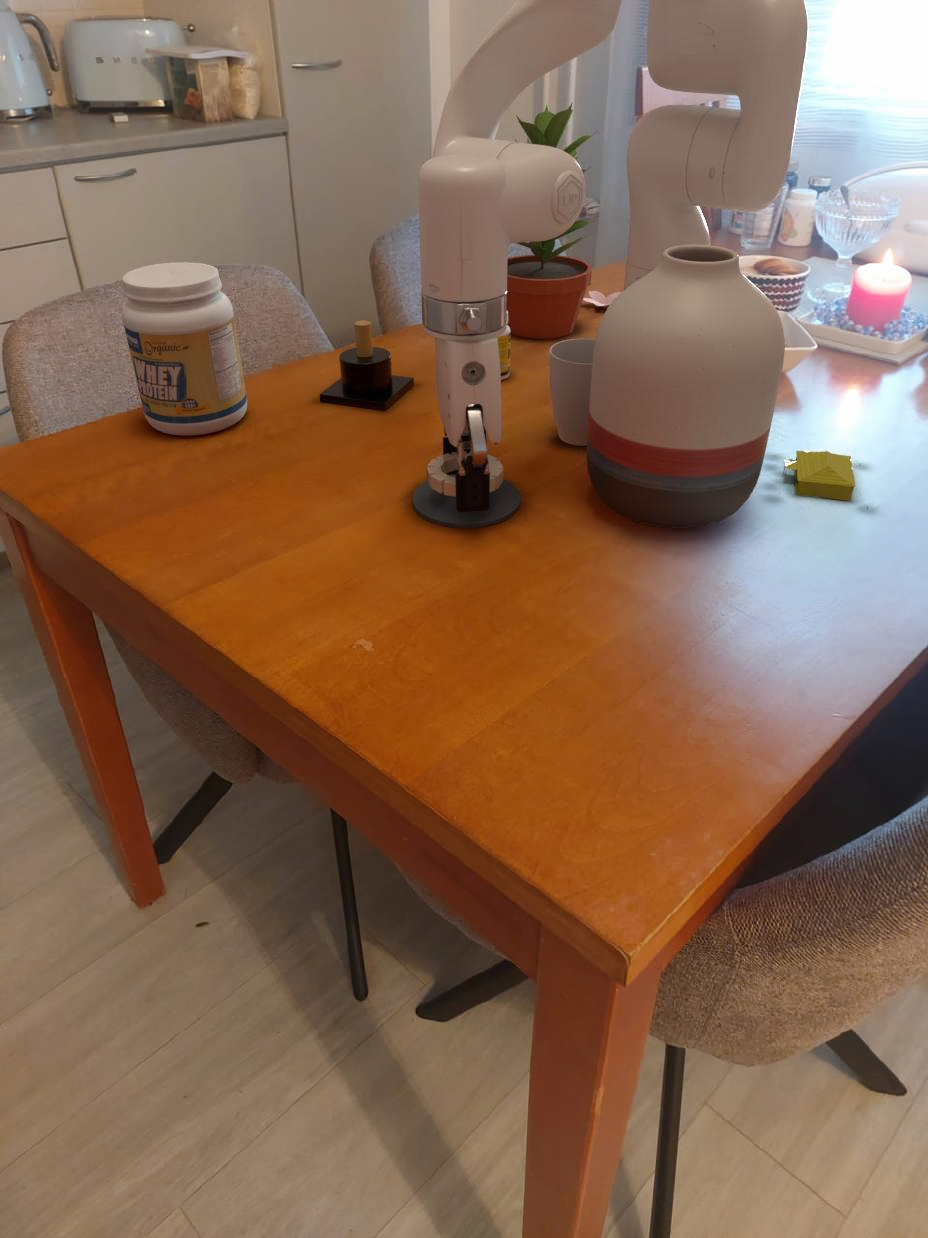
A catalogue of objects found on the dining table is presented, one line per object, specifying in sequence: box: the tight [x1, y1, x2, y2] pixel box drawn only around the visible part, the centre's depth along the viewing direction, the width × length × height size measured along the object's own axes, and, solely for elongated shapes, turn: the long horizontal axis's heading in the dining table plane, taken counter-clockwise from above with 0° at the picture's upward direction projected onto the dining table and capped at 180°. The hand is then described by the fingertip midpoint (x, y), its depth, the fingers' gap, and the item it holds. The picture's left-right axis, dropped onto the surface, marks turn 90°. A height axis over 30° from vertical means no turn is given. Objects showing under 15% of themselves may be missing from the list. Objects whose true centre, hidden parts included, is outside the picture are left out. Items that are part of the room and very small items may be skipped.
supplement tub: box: [121, 261, 248, 437], centre depth 103 cm, size 12×12×17 cm
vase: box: [586, 244, 786, 529], centre depth 83 cm, size 17×17×24 cm
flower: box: [583, 289, 623, 307], centre depth 143 cm, size 10×10×2 cm
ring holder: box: [319, 319, 415, 411], centre depth 111 cm, size 9×9×9 cm
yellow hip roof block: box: [773, 450, 869, 510], centre depth 92 cm, size 10×9×3 cm
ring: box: [426, 451, 504, 497], centre depth 88 cm, size 7×7×1 cm
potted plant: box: [506, 102, 599, 340], centre depth 126 cm, size 15×15×30 cm
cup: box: [549, 338, 596, 447], centre depth 100 cm, size 8×8×10 cm
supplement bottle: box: [497, 311, 512, 381], centre depth 116 cm, size 5×5×8 cm
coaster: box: [411, 474, 522, 529], centre depth 90 cm, size 11×11×1 cm
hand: (465, 489), depth 89 cm, fingers closed on ring, 7 cm apart
